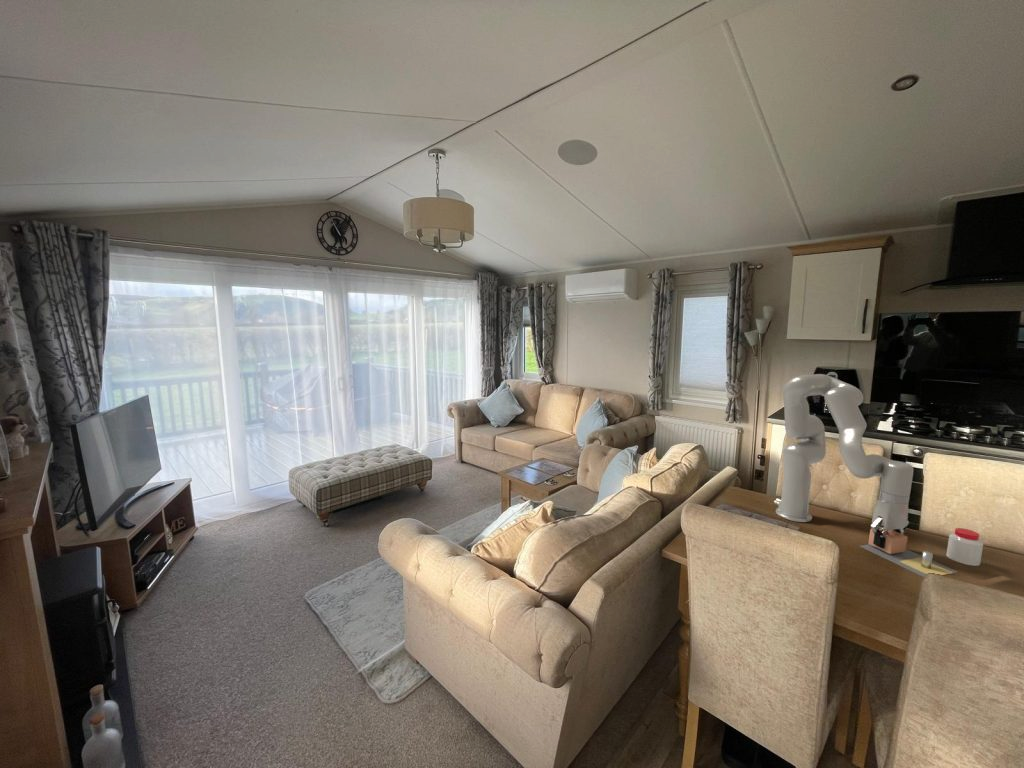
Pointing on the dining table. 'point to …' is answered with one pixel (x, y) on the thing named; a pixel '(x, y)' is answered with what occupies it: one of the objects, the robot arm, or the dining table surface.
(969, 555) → the pill bottle
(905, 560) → the post board
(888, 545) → the tan boxy piece
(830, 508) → the dining table surface
